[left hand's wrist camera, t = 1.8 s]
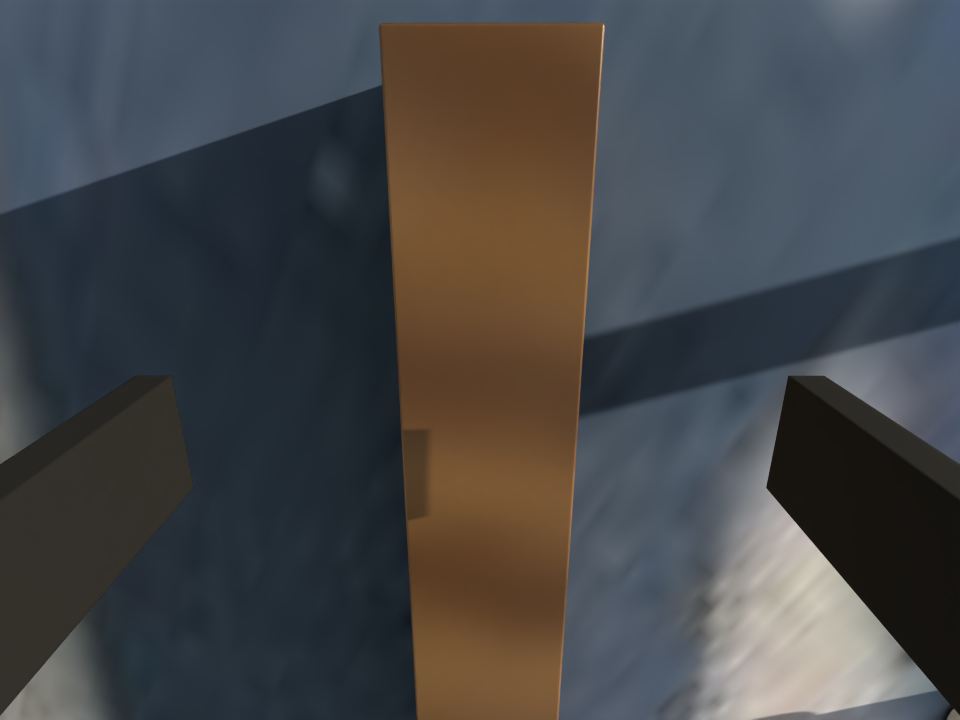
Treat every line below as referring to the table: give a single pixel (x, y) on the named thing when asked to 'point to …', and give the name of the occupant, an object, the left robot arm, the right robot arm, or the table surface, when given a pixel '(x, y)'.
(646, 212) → the table surface
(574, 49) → the post
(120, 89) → the table surface
